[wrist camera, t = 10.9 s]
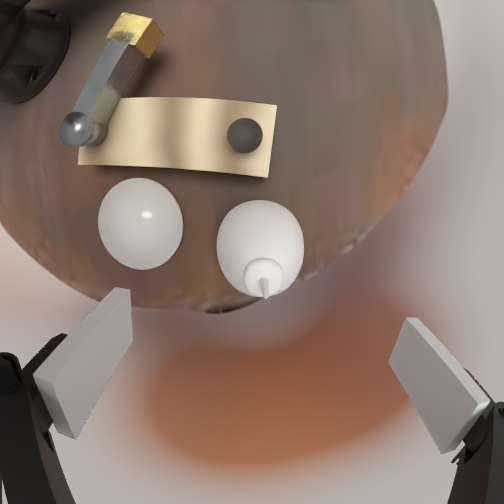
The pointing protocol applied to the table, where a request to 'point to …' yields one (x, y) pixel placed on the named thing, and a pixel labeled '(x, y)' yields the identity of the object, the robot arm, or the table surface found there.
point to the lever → (110, 79)
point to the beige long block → (187, 135)
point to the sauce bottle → (260, 248)
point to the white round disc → (140, 223)
